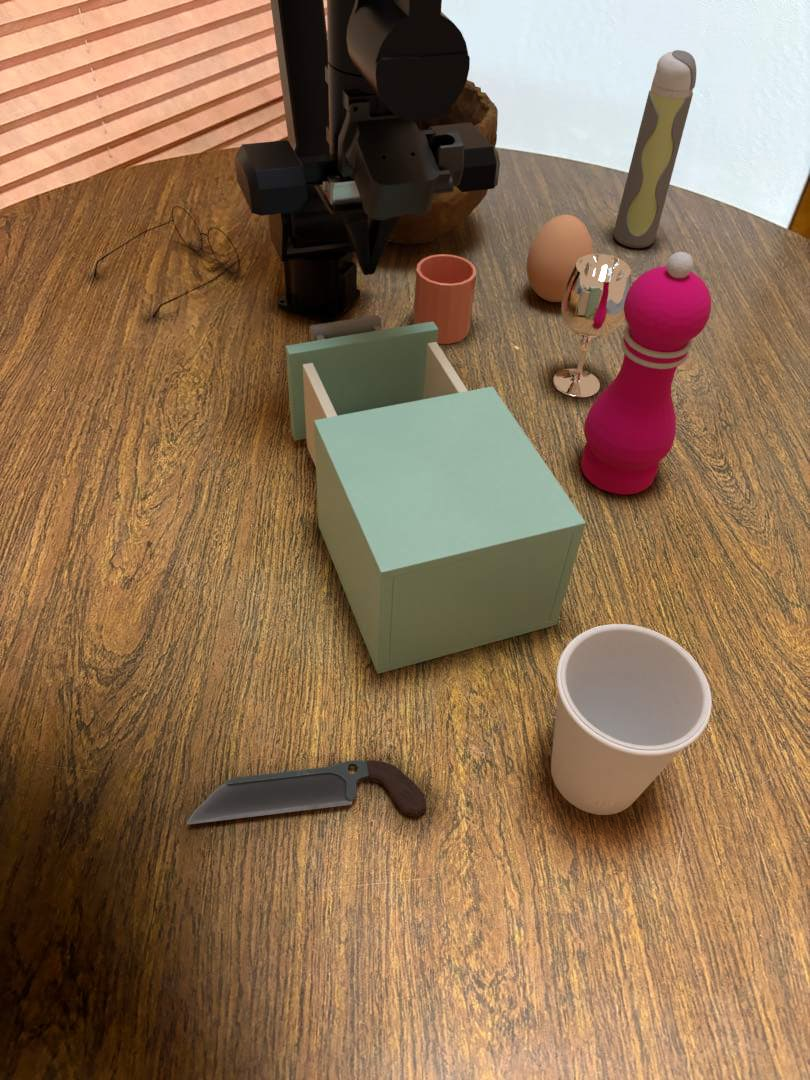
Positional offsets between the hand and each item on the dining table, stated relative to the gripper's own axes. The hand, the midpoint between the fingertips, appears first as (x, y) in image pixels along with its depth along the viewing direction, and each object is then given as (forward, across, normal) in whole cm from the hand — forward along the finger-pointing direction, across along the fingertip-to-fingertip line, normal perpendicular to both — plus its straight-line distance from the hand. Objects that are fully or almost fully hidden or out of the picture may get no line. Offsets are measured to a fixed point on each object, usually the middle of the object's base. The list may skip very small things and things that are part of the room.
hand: (367, 272), depth 69 cm
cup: (+13, +11, +9) cm, 19 cm away
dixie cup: (+13, +3, -40) cm, 42 cm away
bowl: (+13, +14, +28) cm, 34 cm away
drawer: (+12, -2, -8) cm, 14 cm away
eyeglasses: (+13, -14, +25) cm, 32 cm away
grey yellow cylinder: (+13, +39, +20) cm, 46 cm away
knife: (+12, -15, -36) cm, 41 cm away
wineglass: (+13, +20, -3) cm, 24 cm away
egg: (+13, +24, +11) cm, 29 cm away
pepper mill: (+13, +18, -15) cm, 27 cm away
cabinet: (+12, -2, -22) cm, 25 cm away
